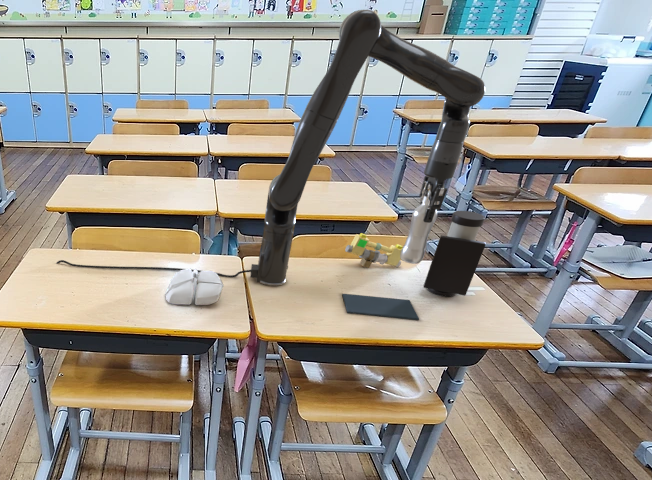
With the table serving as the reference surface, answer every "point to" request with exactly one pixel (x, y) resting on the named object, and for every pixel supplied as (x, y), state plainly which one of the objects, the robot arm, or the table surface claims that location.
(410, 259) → the plastic bottle
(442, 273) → the light fixture
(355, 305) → the mat
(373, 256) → the toy
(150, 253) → the table surface
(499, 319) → the table surface
